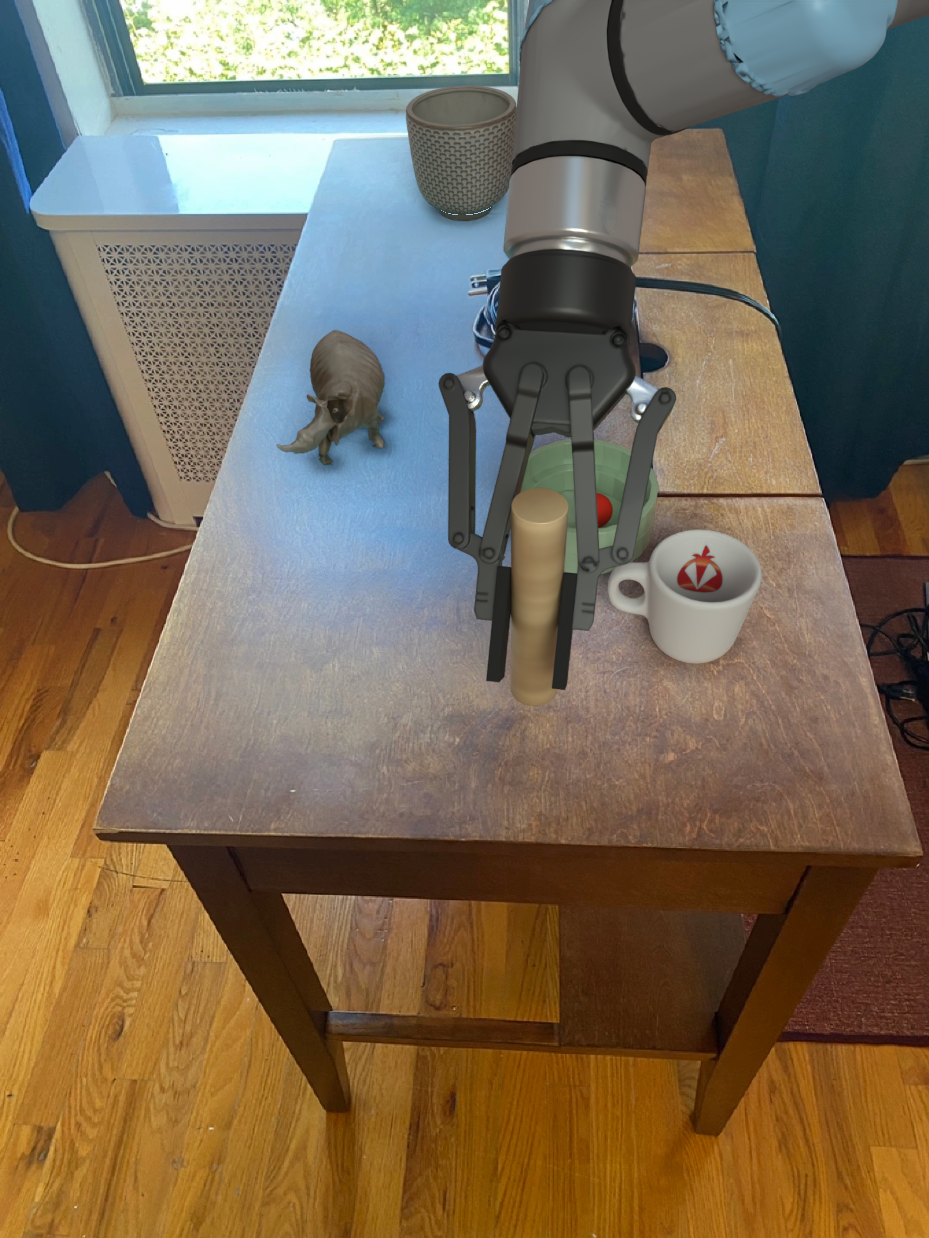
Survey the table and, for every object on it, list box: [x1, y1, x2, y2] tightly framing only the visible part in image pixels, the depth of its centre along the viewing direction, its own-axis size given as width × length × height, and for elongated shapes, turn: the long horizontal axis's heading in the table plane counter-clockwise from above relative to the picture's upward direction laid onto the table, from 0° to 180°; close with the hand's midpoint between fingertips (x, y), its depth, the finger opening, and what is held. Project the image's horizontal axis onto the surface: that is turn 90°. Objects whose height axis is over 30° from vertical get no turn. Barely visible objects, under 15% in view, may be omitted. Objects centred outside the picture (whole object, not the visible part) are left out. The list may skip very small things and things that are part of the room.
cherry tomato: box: [597, 493, 613, 528], centre depth 79 cm, size 3×3×3 cm
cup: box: [607, 528, 763, 664], centre depth 69 cm, size 11×8×8 cm
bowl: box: [520, 438, 660, 575], centre depth 78 cm, size 12×12×6 cm
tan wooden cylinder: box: [509, 488, 568, 707], centre depth 53 cm, size 3×3×15 cm
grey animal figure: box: [276, 329, 386, 466], centre depth 88 cm, size 8×14×15 cm
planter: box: [405, 85, 517, 222], centre depth 118 cm, size 14×14×13 cm
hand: (527, 681), depth 53 cm, fingers closed on tan wooden cylinder, 3 cm apart
